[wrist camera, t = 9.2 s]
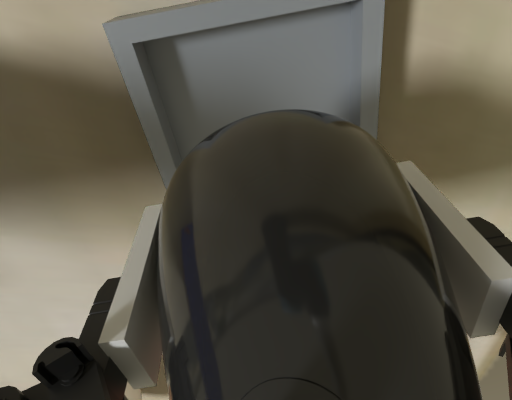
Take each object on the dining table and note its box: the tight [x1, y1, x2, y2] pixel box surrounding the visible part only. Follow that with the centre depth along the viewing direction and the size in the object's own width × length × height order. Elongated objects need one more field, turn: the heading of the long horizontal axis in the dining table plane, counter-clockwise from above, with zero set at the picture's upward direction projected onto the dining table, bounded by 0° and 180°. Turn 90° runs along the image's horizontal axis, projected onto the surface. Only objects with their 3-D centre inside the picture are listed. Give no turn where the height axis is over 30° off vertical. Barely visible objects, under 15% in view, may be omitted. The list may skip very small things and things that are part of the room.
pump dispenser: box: [157, 109, 482, 400], centre depth 11 cm, size 10×10×15 cm
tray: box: [102, 0, 385, 190], centre depth 23 cm, size 15×15×3 cm
